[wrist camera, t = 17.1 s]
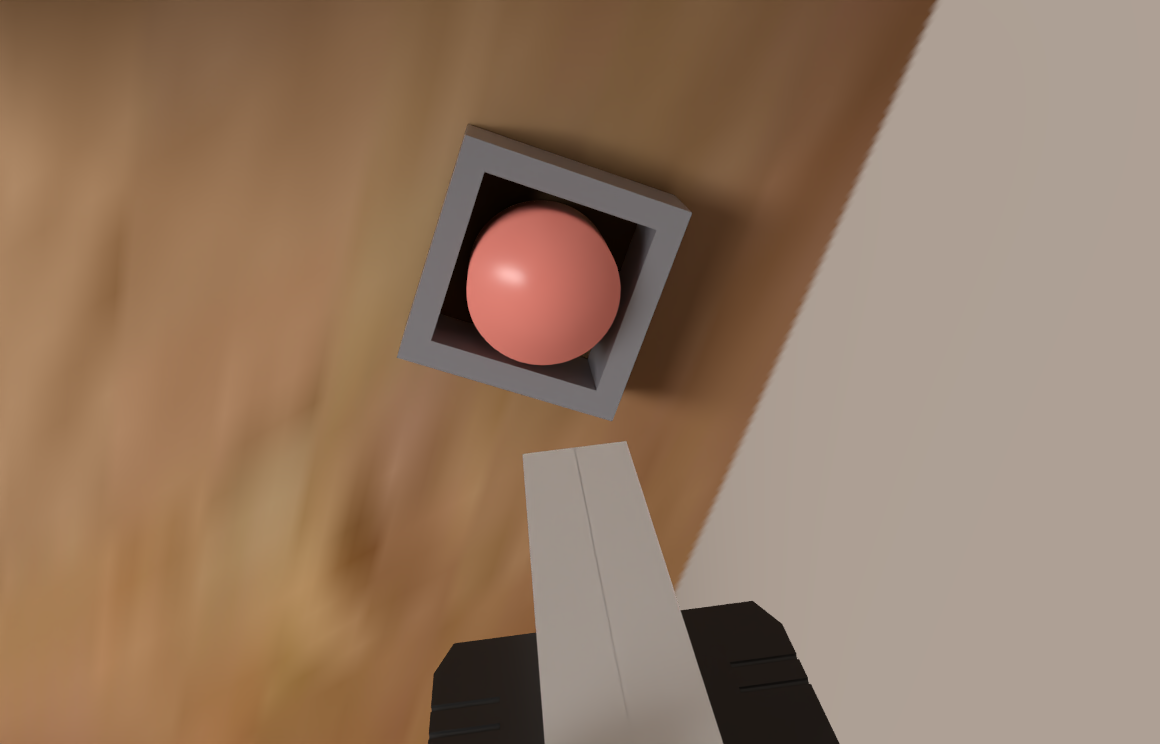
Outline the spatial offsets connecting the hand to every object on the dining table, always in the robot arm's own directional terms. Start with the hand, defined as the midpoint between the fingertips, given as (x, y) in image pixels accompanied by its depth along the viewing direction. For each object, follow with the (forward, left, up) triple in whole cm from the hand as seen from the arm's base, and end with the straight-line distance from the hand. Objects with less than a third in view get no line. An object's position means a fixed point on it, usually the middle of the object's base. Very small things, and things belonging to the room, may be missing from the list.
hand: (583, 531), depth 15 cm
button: (0, 0, -17) cm, 17 cm away
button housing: (0, 0, -18) cm, 18 cm away
